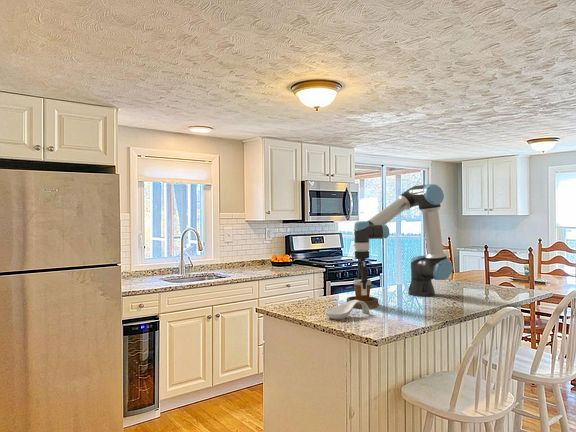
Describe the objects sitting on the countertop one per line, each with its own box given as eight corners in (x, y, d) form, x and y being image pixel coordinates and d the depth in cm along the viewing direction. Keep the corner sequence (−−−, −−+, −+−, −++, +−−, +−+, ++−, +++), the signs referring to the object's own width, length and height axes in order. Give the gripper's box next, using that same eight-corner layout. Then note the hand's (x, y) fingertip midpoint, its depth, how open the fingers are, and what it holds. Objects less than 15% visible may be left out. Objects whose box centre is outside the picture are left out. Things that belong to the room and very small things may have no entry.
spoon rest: (336, 322, 193) (335, 306, 193) (319, 318, 203) (319, 302, 203) (374, 315, 206) (374, 300, 206) (357, 311, 216) (357, 297, 216)
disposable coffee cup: (371, 305, 224) (371, 281, 224) (352, 304, 226) (352, 281, 226) (371, 301, 233) (371, 279, 233) (353, 301, 235) (353, 278, 235)
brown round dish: (358, 301, 241) (358, 294, 241) (385, 305, 229) (385, 298, 229) (339, 305, 230) (339, 298, 230) (366, 310, 217) (366, 303, 217)
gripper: (351, 249, 241) (352, 290, 240) (357, 252, 219) (358, 297, 218) (365, 249, 241) (366, 289, 240) (373, 252, 219) (373, 297, 218)
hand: (362, 293), depth 229 cm, fingers closed on disposable coffee cup, 9 cm apart
